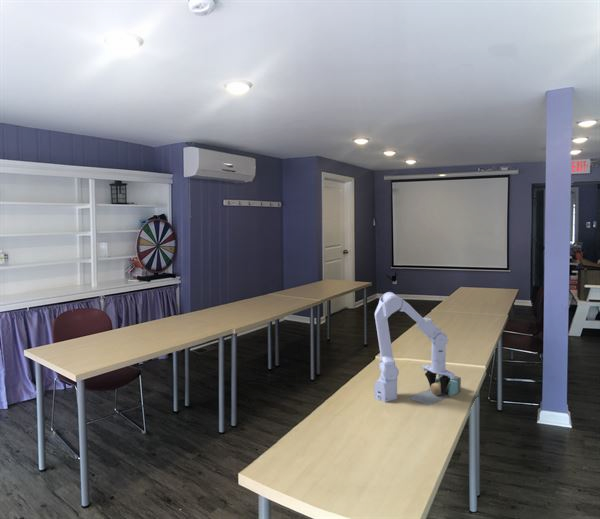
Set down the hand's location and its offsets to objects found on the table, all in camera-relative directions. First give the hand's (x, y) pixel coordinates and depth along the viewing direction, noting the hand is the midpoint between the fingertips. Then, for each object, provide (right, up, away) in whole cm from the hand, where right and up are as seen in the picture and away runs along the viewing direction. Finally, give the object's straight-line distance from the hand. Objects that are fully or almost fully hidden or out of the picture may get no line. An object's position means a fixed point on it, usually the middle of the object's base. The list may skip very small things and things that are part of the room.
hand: (438, 391), depth 188 cm
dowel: (+2, -1, +1) cm, 2 cm away
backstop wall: (+7, -2, +7) cm, 10 cm away
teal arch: (+4, -1, +3) cm, 6 cm away
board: (-2, -2, 0) cm, 3 cm away
